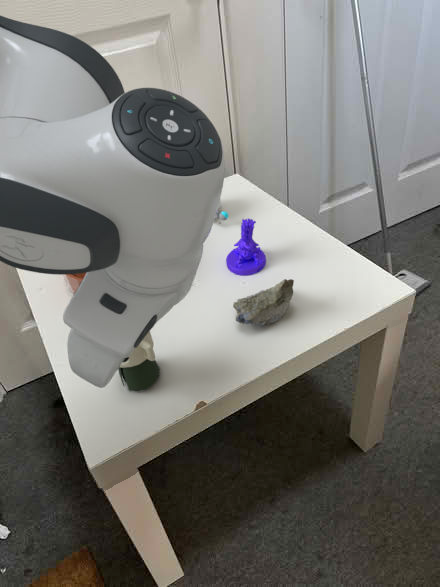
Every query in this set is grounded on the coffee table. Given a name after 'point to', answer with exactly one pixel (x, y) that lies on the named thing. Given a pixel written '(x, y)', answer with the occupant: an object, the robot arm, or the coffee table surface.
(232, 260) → the figurine
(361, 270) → the coffee table surface
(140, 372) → the character mug
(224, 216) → the faceted white ball
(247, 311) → the rock
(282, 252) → the coffee table surface
